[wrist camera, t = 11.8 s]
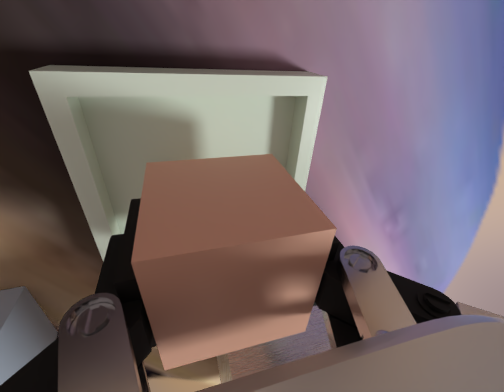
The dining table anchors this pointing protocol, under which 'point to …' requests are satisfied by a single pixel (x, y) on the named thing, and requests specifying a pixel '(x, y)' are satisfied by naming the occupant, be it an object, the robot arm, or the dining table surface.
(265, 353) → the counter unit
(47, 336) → the blue-grey cube
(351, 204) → the dining table surface
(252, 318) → the salmon pink cube
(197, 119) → the sage tray
